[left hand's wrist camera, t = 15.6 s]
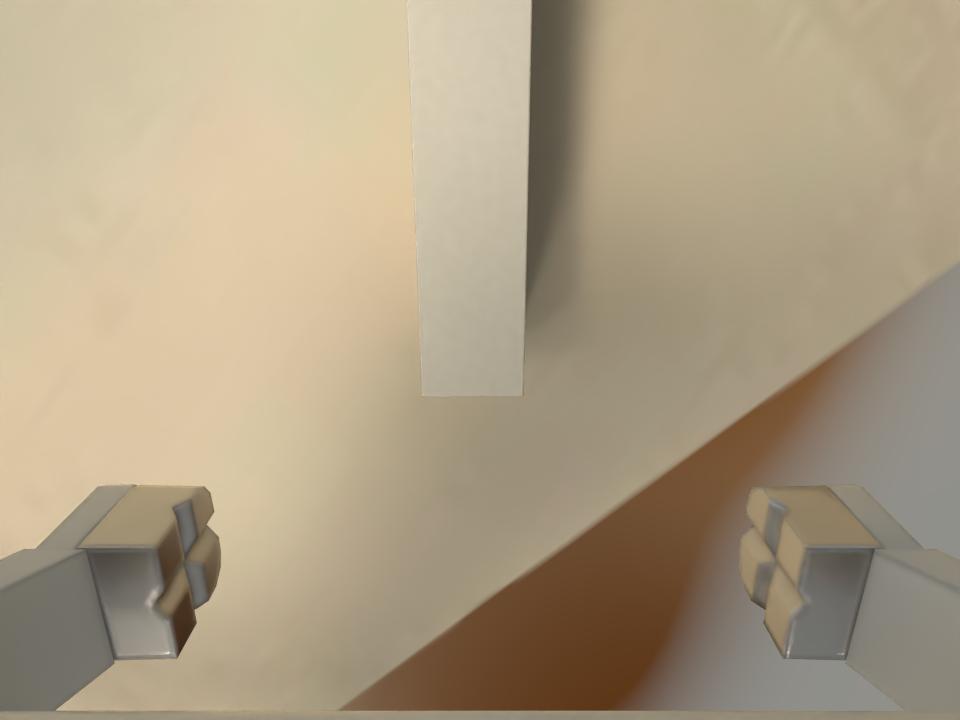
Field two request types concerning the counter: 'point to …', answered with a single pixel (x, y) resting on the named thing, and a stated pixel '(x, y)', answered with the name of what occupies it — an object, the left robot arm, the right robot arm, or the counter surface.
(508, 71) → the post
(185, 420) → the counter surface
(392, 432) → the counter surface
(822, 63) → the counter surface
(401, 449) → the counter surface
